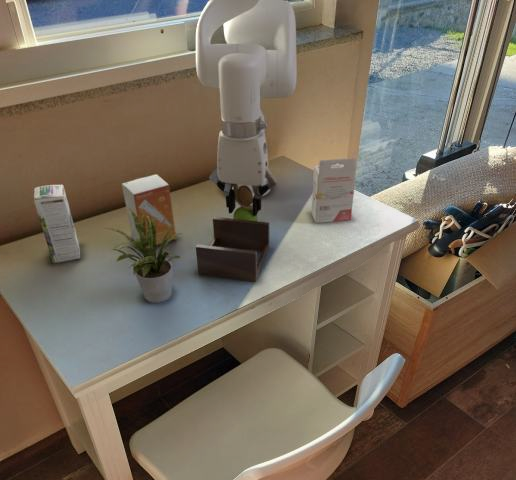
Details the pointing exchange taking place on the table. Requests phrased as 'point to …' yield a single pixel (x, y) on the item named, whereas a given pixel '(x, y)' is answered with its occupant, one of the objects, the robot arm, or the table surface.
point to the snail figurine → (244, 203)
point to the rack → (234, 260)
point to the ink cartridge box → (333, 190)
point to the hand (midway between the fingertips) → (244, 210)
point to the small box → (150, 205)
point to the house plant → (150, 261)
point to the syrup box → (57, 222)
